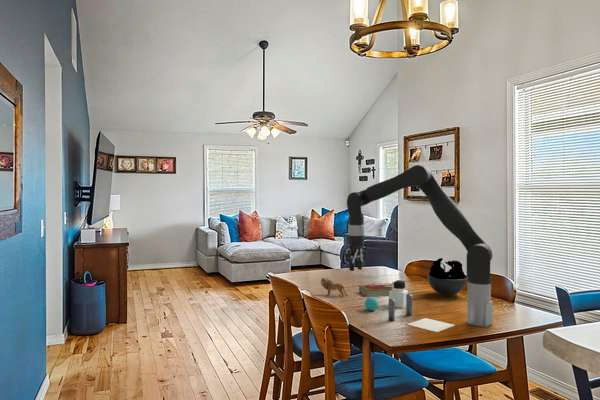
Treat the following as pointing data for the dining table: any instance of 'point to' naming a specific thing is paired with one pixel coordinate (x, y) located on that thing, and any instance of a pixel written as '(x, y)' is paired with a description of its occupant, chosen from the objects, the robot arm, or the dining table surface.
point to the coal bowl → (447, 278)
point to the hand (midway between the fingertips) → (355, 269)
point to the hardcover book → (376, 290)
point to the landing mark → (431, 325)
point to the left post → (391, 310)
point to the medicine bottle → (398, 293)
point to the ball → (371, 303)
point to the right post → (409, 304)
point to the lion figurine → (332, 286)
